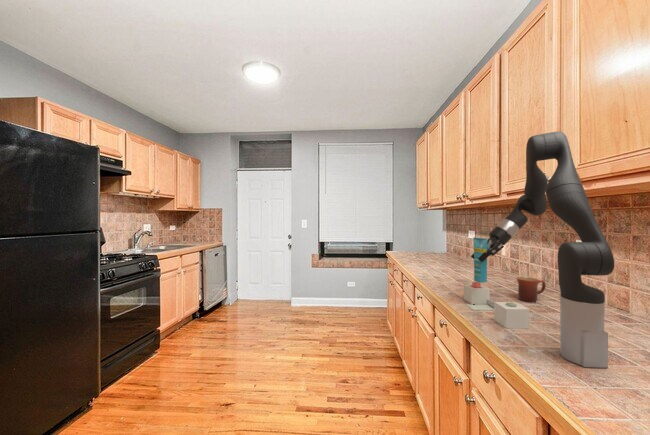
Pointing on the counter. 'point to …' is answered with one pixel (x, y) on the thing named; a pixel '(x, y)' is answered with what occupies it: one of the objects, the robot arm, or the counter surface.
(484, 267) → the tube
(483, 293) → the grey block
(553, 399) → the counter surface
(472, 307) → the pad
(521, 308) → the block with green button
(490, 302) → the rail
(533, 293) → the mug
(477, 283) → the gauge button
